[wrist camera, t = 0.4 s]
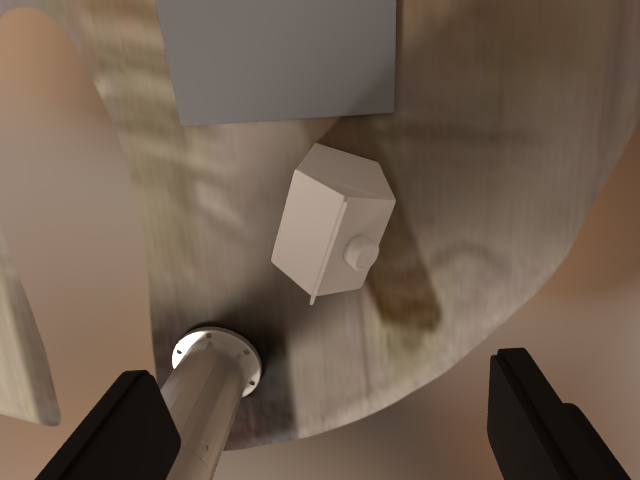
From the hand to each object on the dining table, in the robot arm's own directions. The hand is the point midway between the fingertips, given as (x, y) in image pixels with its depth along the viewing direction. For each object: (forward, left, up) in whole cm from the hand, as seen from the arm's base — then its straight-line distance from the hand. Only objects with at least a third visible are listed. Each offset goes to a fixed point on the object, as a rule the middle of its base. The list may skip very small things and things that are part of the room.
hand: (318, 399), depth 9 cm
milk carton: (-1, 0, -31) cm, 30 cm away
